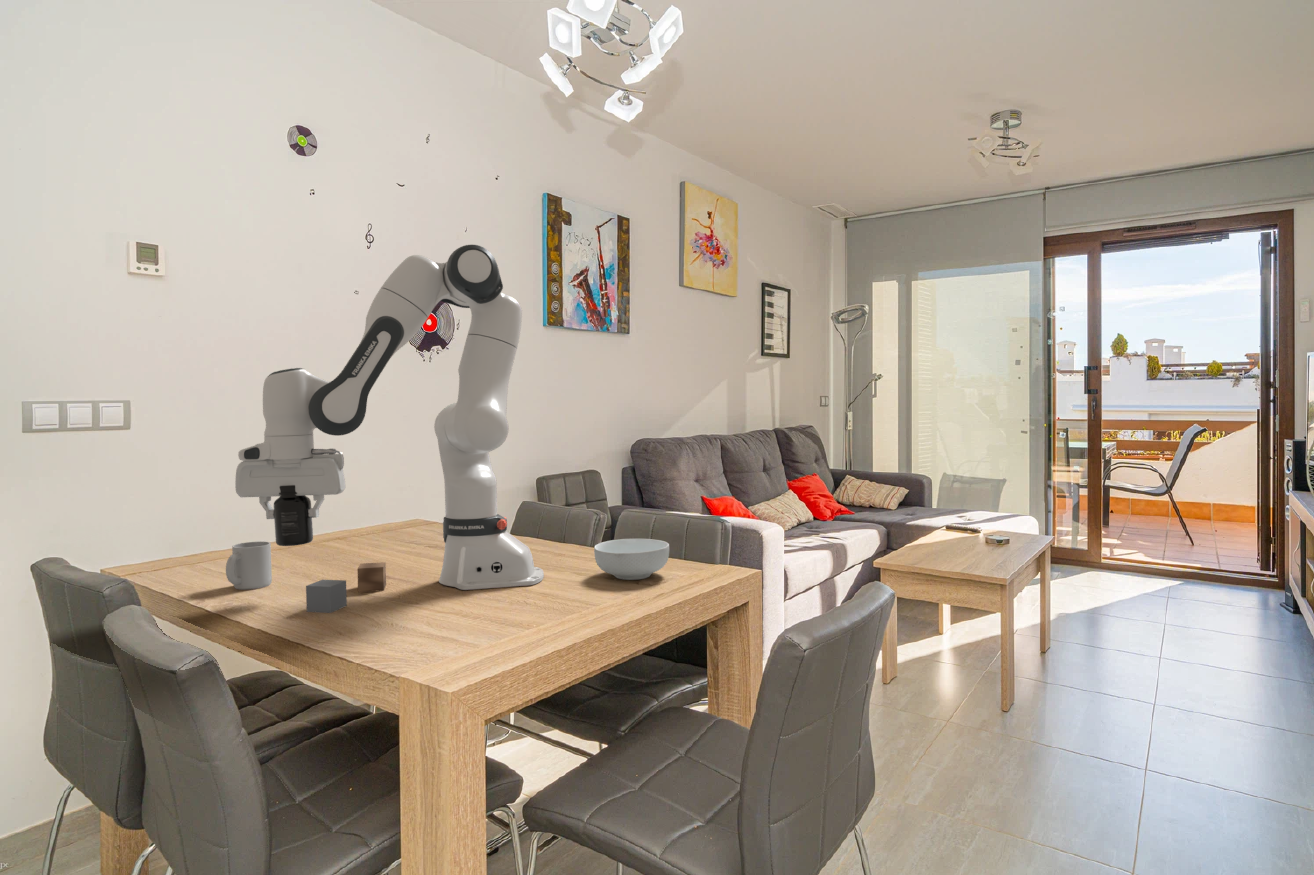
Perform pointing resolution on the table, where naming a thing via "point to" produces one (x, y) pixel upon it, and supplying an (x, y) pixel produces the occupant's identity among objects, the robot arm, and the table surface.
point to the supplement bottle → (292, 518)
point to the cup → (250, 565)
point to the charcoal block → (326, 596)
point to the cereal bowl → (631, 557)
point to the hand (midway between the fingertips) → (293, 518)
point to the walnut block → (371, 577)
